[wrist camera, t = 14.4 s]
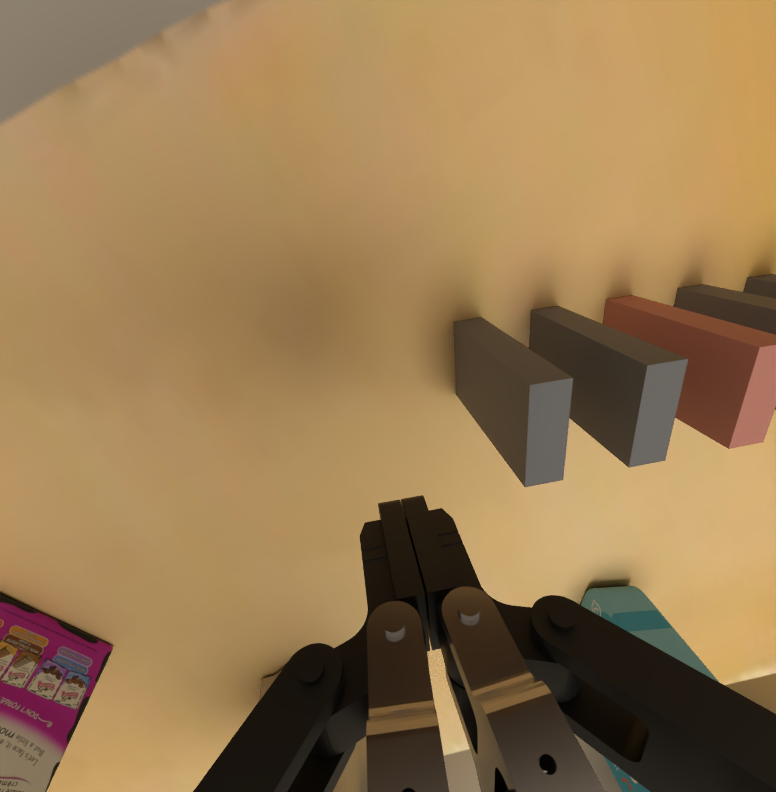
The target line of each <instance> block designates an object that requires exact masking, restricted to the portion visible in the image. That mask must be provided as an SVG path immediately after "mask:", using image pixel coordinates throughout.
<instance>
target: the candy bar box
mask: <svg viewBox="0 0 776 792" xmlns="http://www.w3.org/2000/svg"><path fill="white" fill-rule="evenodd" d="M112 649H113V647H112V646H111V645H110V644H108V643H106V642H103V641H101V640H99V639H97V638H95V637H93V636H90V635H88V634H86V633H84V632H82V631H80V630H77V629H75V628H73V627H71V626H69V625H67V624H64V623H62V622H60V621H58V620H56V619H53V618H51V617H49V616H47V615H45V614H42V613H40V612H38V611H36V610H34V609H31V608H29V607H27V606H25V605H23V604H20V603H18V602H16V601H13V600H11V599H9V598H7V597H5V596H3V595H0V792H46V791H47V789H48V787H49V785H50V782H51V780H52V778H53V776H54V774H55V772H56V769H57V767H58V766H59V764H60V761H61V759H62V757H63V755H64V752H65V750H66V748H67V746H68V744H69V741H70V739H71V737H72V735H73V733H74V731H75V729H76V727H77V724H78V722H79V720H80V718H81V716H82V714H83V712H84V709H85V707H86V705H87V703H88V701H89V699H90V696H91V694H92V692H93V690H94V688H95V686H96V683H97V682H98V680H99V678H100V675H101V673H102V671H103V669H104V667H105V665H106V663H107V661H108V658H109V656H110V654H111V652H112Z"/></svg>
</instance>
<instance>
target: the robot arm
mask: <svg viewBox="0 0 776 792" xmlns="http://www.w3.org/2000/svg"><path fill="white" fill-rule="evenodd" d="M401 505H402V506H401ZM378 507H379V514H380V520H377V521H372V522H366V523H365V524H364V526H363V529H362V531H361V534H360V542H361V551H362V560H363V569H364V577H365V586H366V595H367V603H368V614H367V618H366V621H365V623H364V625H363V627H362V628H361V630H360V631H359V632H358V633H357V634H356V635H355V636H354V637H352V638H351V639H350V640H348V641H346V642H345V643H343V644H341V645H339V646H338V647H336V648H334V649H333V648H332V647H331V646H329V645H326V644H322V643H316V644H311V645H308V646H305V647H303V648H302V649H300V650H299V651H297V652H296V653H295V654H294V655H293V656H292V657H291V659H290V660H289V661H288V663H287V664H286V665H285V667H284V668H283V669H282V670H281V671H279V672H278V673H277V674H275V675H274V676H271V677H267V678H263V679H262V683H261V691H260V699H259V702H258V704H257V705H256V706H255V708H254V709H253V710H252V712H251V713H250V715H249V716H248V717H247V719H246V720H245V721H244V723H243V724H242V726H241V727H240V728H239V730H238V731H237V732H236V734H235V735H234V737H233V738H232V739H231V741H230V742H229V743H228V745H227V746H226V748H225V749H224V750H223V752H222V753H221V754H220V756H219V757H218V758H217V760H216V761H215V763H214V764H213V765H212V767H211V768H210V769H209V771H208V772H207V774H206V775H205V776H204V778H203V779H202V780H201V782H200V783H199V785H198V786H197V787H196V789H195V790H194V791H193V792H449V788H448V781H447V775H446V769H445V762H444V756H443V750H442V743H441V737H440V731H439V724H438V719H437V713H436V709H435V705H434V699H433V693H432V686H431V680H430V674H429V666H428V656H427V651H430V645H429V639H430V643H431V647H432V650H435V649H440V648H441V651H442V654H443V658H444V662H445V669H446V678H447V682H448V685H449V688H450V691H451V694H452V697H453V700H454V703H455V706H456V709H457V711H458V714H459V717H460V720H461V723H462V726H463V729H464V732H465V735H466V738H467V741H468V744H469V747H470V750H471V752H472V756H473V759H474V762H475V766H476V770H477V775H478V780H479V785H480V789H481V792H606V791H605V790H604V788H603V786H602V784H601V782H600V781H599V779H598V777H597V775H596V773H595V772H594V770H593V768H592V766H591V764H590V762H589V760H588V759H587V757H586V755H585V753H584V751H583V749H582V748H581V746H580V744H579V742H578V740H577V739H576V737H575V735H574V734H576V735H577V736H578V737H580V738H581V739H582V740H583V741H585V742H586V743H587V744H589V745H590V746H591V747H593V748H594V749H595V750H596V751H598V752H599V753H600V754H602V755H603V756H604V757H606V758H607V759H608V760H610V761H611V762H612V763H613V764H615V765H616V766H617V767H619V768H620V769H621V770H623V771H624V772H625V773H627V774H628V775H629V776H630V777H632V778H633V779H634V780H636V781H637V782H638V783H640V784H641V785H642V786H644V787H645V788H646V789H647V790H649V791H650V792H776V714H775V713H773V712H771V711H769V710H767V709H766V708H764V707H762V706H760V705H758V704H756V703H755V702H753V701H751V700H750V699H748V698H746V697H744V696H742V695H741V694H739V693H737V692H735V691H733V690H731V689H730V688H728V687H726V686H724V685H723V684H721V683H719V682H717V681H715V680H714V679H712V678H710V677H708V676H707V675H705V674H703V673H701V672H699V671H698V670H696V669H694V668H692V667H690V666H689V665H687V664H685V663H683V662H681V661H680V660H678V659H676V658H674V657H672V656H671V655H669V654H667V653H665V652H663V651H662V650H660V649H658V648H656V647H655V646H653V645H651V644H649V643H647V642H646V641H644V640H642V639H640V638H638V637H637V636H635V635H633V634H631V633H629V632H628V631H626V630H624V629H622V628H620V627H619V626H617V625H615V624H613V623H611V622H610V621H608V620H606V619H604V618H603V617H601V616H599V615H597V614H595V613H594V612H592V611H590V610H588V609H586V608H585V607H583V606H581V605H579V604H577V603H576V602H574V601H572V600H570V599H568V598H565V597H562V596H555V595H551V596H545V597H542V598H540V599H539V600H537V601H536V602H535V604H534V605H533V607H532V608H530V607H521V606H512V605H507V604H503V603H501V602H498V601H496V600H495V599H493V598H492V597H490V596H489V595H488V594H487V593H486V592H485V591H484V590H483V588H482V587H481V585H480V583H479V580H478V578H477V576H476V573H475V571H474V568H473V566H472V564H471V561H470V559H469V556H468V554H467V552H466V549H465V547H464V544H463V543H462V540H461V537H460V535H459V534H458V530H457V528H456V525H455V523H454V520H453V518H452V517H451V516H450V515H448V514H447V513H446V512H445V511H444V510H443V509H442V508H441V509H436V510H430V511H429V510H428V508H427V505H426V502H425V499H424V497H423V495H422V496H416V497H411V498H405V499H401V502H400V500H395V501H389V502H384V503H378Z"/></svg>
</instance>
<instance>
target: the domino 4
mask: <svg viewBox="0 0 776 792" xmlns="http://www.w3.org/2000/svg"><path fill="white" fill-rule="evenodd" d="M674 307H676V308H680V309H684V310H687V311H691V312H695V313H698V314H702V315H706V316H709V317H713V318H716V319H720V320H724V321H727V322H731V323H735V324H738V325H742V326H746V327H749V328H753V329H757V330H760V331H764V332H767V333H771V334H775V335H776V299H775V298H770V297H765V296H759V295H754V294H749V293H744V292H739V291H734V290H729V289H724V288H719V287H713V286H708V285H696V286H690V287H683V288H678V290H677V295H676V300H675V305H674ZM775 410H776V407H775Z"/></svg>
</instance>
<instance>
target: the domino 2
mask: <svg viewBox="0 0 776 792" xmlns="http://www.w3.org/2000/svg"><path fill="white" fill-rule="evenodd" d="M529 349H530V350H532V351H533V352H535V353H536V354H538V355H539V356H541V357H542V358H544V359H545V360H547V361H548V362H550V363H551V364H553V365H554V366H556V367H557V368H559V369H560V370H562V371H563V372H565V373H566V374H568V375H569V376H571V377H573V384H572V395H571V405H570V415H569V418H570V419H571V420H573V421H574V422H575V423H576V424H577V425H579V426H580V427H581V428H582V429H583V430H585V431H586V432H587V433H588V434H589V435H591V436H592V437H593V438H594V439H595V440H597V441H598V442H599V443H600V444H601V445H603V446H604V447H605V448H606V449H607V450H609V451H610V452H611V453H612V454H613V455H615V456H616V457H617V458H618V459H619V460H620V461H622V462H623V463H624V464H625V465H626V466H628V467H634V466H639V465H644V464H649V463H654V462H660V461H665V459H666V454H667V450H668V446H669V441H670V437H671V432H672V428H673V424H674V419H675V415H676V411H677V406H678V402H679V397H680V393H681V389H682V384H683V380H684V375H685V371H686V367H687V362H688V358H685V357H683V356H680V355H678V354H675V353H673V352H670V351H668V350H665V349H663V348H660V347H658V346H655V345H653V344H651V343H648V342H646V341H643V340H641V339H638V338H636V337H633V336H631V335H628V334H626V333H623V332H621V331H618V330H616V329H613V328H611V327H609V326H606V325H604V324H601V323H599V322H596V321H594V320H591V319H589V318H586V317H584V316H581V315H579V314H576V313H574V312H572V311H569V310H567V309H564V308H562V307H559V306H556V307H549V308H542V309H535V310H531V321H530V342H529Z"/></svg>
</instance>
